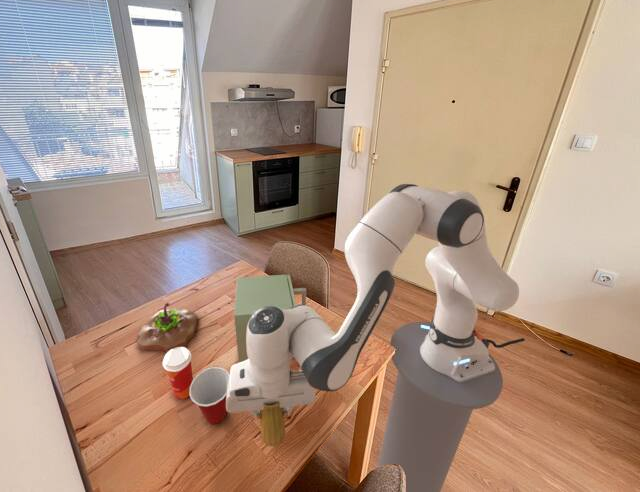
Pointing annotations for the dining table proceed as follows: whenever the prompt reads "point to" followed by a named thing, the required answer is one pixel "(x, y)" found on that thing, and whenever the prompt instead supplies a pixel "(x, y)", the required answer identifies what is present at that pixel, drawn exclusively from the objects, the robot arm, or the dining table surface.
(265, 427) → the vase
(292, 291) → the cupboard door
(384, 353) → the dining table surface
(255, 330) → the robot arm
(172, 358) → the paper cup
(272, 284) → the cupboard
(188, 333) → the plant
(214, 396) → the plastic cup
